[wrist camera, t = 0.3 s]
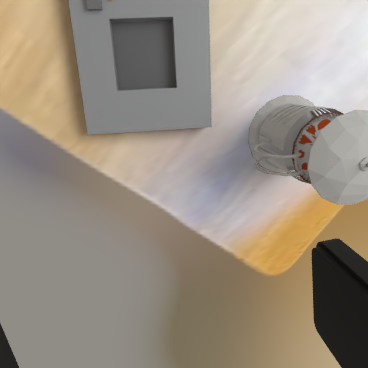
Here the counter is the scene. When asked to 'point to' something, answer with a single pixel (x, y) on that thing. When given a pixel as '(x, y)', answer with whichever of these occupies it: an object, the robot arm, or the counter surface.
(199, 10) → the socket plate
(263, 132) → the french press
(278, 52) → the counter surface
